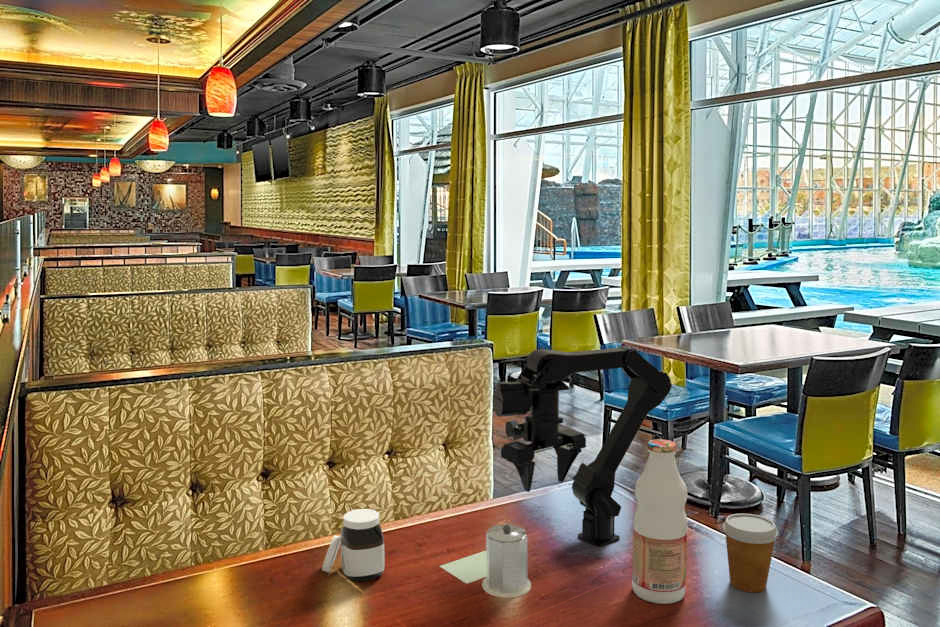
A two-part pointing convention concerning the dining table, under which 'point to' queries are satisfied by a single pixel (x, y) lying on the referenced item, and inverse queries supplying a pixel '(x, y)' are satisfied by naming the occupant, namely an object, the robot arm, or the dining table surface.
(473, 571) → the sage placemat
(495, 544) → the grey metal canister
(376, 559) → the spread jar
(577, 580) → the dining table surface
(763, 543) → the disposable coffee cup
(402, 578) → the dining table surface
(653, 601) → the fruit juice
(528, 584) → the teal puck on dish
